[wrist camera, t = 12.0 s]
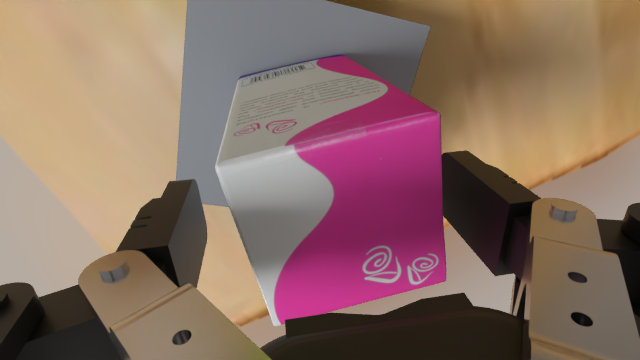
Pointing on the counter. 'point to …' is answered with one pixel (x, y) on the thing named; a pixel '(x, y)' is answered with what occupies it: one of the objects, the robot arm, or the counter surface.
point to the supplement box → (333, 186)
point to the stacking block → (273, 62)
